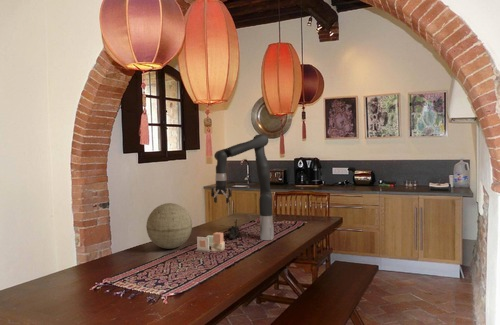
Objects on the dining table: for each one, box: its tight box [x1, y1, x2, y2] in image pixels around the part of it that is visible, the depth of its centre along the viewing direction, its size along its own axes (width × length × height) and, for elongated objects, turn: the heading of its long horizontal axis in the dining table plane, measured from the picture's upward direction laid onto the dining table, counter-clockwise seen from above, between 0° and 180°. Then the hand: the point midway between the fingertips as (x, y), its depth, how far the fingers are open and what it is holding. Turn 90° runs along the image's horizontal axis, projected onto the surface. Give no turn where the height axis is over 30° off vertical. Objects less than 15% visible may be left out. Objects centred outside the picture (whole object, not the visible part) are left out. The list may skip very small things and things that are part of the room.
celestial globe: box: [145, 202, 193, 250], centre depth 271 cm, size 30×30×30 cm
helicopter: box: [216, 218, 248, 240], centre depth 304 cm, size 23×34×15 cm
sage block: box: [206, 234, 213, 247], centre depth 278 cm, size 5×5×6 cm
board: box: [195, 236, 212, 253], centre depth 262 cm, size 9×3×9 cm, turn 71°
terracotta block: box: [212, 231, 224, 244], centre depth 265 cm, size 5×5×6 cm
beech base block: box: [210, 240, 226, 252], centre depth 265 cm, size 7×7×5 cm
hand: (221, 203), depth 280 cm, fingers open, 8 cm apart
